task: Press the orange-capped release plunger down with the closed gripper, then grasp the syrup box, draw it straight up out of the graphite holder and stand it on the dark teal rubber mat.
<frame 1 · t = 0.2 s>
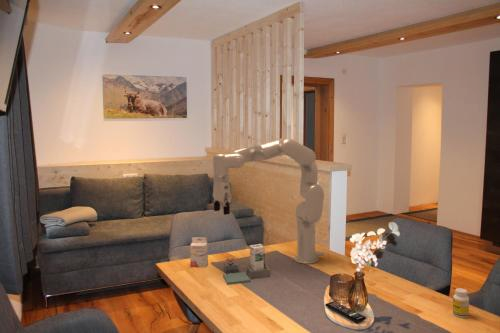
hand: (221, 212, 215), 30 cm above the table, tool pointing down, fingers open, 9 cm apart
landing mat: (236, 279, 205), on the table
ink cartridge box: (199, 265, 226), on the table
release plunger: (230, 262, 215), point 5 cm above the table, slide at 0.0 cm
plunger housing: (230, 271, 215), on the table
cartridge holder: (258, 274, 211), on the table
supplement bottle: (460, 315, 162), on the table
syrup box: (258, 274, 211), resting in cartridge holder
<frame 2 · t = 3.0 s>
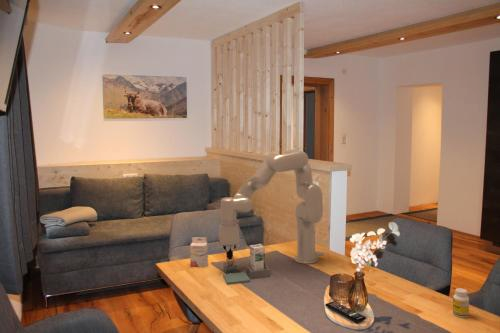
hand: (229, 258, 215), 7 cm above the table, tool pointing down, fingers closed
release plunger: (230, 263, 215), point 4 cm above the table, slide at 0.8 cm, touching gripper
everything else where it was.
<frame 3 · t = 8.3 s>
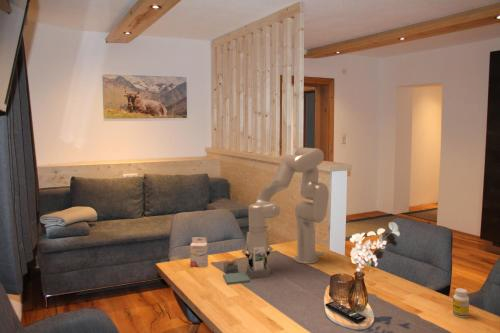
hand: (257, 265, 210), 5 cm above the table, tool pointing down, fingers closed on syrup box, 6 cm apart
release plunger: (230, 264, 215), point 4 cm above the table, slide at 1.2 cm
syrup box: (257, 274, 211), resting in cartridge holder, touching gripper
everything else where it was.
when the fingers open (7 cm above the table, at t = 15.6 s): syrup box drops 1 cm, resting on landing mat.
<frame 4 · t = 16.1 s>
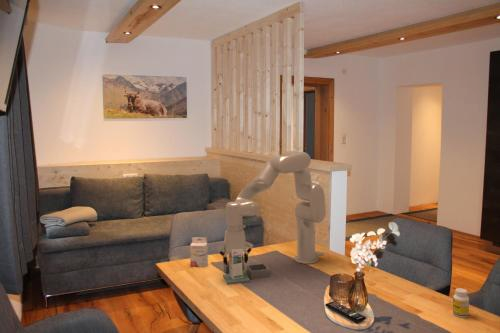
hand: (235, 263, 204), 8 cm above the table, tool pointing down, fingers open, 9 cm apart
syrup box: (236, 277, 205), point 1 cm above the table, touching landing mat
everything else where it was.
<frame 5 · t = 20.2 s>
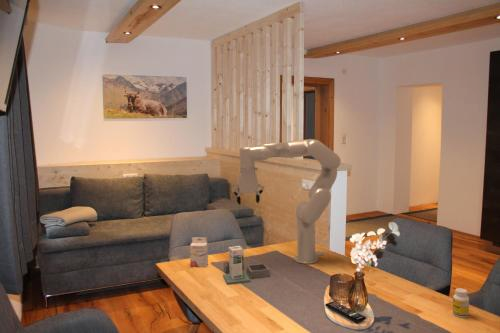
hand: (248, 203, 222), 32 cm above the table, tool pointing down, fingers open, 9 cm apart
nothing on the table moved.
at the end: release plunger slide at 1.2 cm; syrup box inside the target area on the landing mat (0.3 cm from its centre), point 0.8 cm above the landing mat's base; syrup box tilted 0° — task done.
